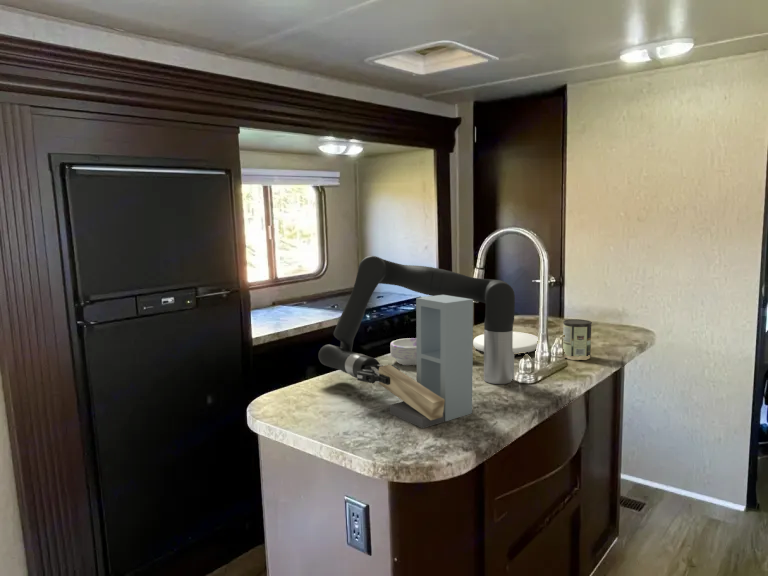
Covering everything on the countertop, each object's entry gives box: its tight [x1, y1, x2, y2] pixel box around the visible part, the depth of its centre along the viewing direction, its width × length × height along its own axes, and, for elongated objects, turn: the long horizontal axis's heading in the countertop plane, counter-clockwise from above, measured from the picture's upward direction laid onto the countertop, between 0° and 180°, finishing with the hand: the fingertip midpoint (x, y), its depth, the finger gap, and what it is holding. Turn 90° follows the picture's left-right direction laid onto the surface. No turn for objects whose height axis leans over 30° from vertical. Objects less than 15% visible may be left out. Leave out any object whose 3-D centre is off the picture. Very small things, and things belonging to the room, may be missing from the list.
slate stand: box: [415, 295, 474, 422], centre depth 156 cm, size 10×12×32 cm
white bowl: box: [389, 337, 417, 366], centre depth 210 cm, size 15×15×8 cm
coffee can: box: [562, 318, 593, 357], centre depth 214 cm, size 10×10×14 cm
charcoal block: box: [389, 400, 445, 429], centre depth 153 cm, size 8×14×2 cm, turn 36°
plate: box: [473, 331, 539, 353], centre depth 229 cm, size 28×6×27 cm
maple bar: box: [378, 364, 445, 420], centre depth 154 cm, size 4×24×5 cm, turn 36°
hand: (395, 379), depth 159 cm, fingers closed on maple bar, 4 cm apart
